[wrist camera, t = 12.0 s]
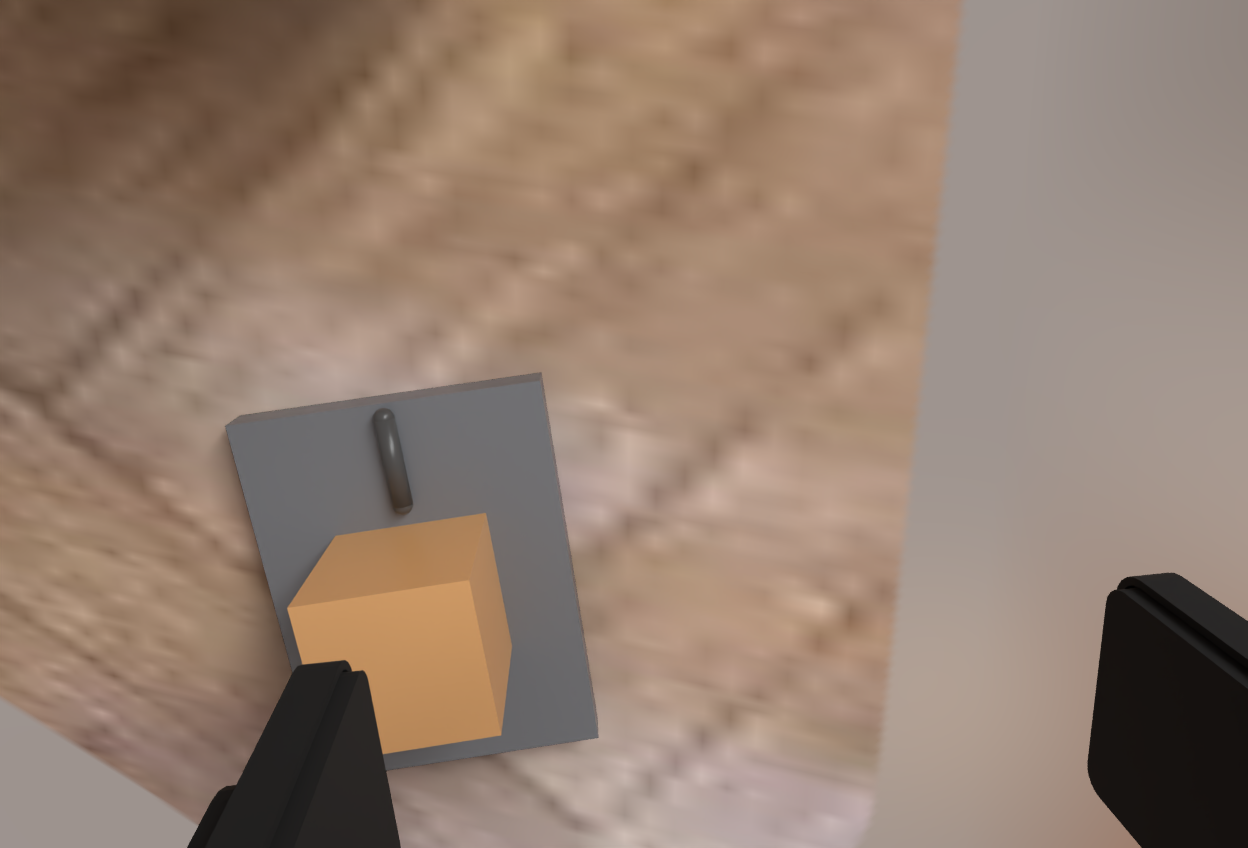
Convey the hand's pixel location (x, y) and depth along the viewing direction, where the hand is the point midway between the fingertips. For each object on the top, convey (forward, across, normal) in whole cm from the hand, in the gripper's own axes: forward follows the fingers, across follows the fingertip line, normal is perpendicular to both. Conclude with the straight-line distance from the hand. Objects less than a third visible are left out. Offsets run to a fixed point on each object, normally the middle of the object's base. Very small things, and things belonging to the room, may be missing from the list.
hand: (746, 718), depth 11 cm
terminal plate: (+24, +9, +10) cm, 27 cm away
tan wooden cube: (+22, +9, +10) cm, 26 cm away
